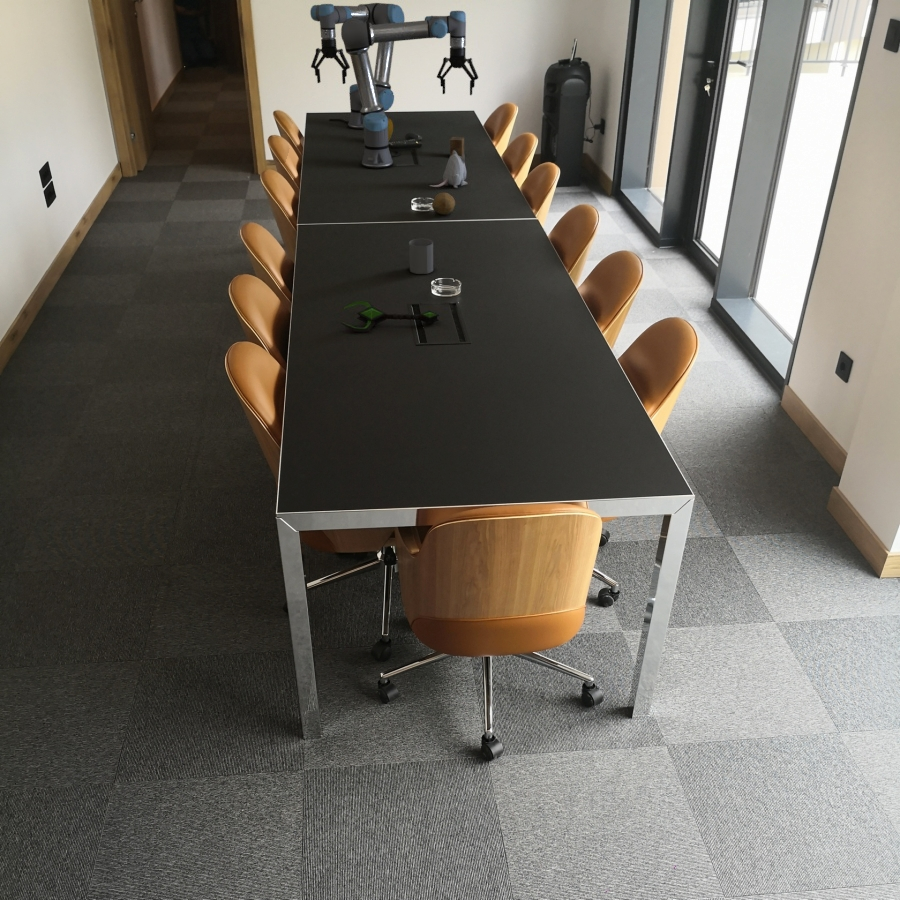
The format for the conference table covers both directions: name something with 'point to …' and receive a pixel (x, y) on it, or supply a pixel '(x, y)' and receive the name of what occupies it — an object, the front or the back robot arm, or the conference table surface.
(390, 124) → the apple
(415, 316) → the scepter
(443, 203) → the potato
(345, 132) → the conference table surface
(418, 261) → the cup
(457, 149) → the brick
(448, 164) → the toy
